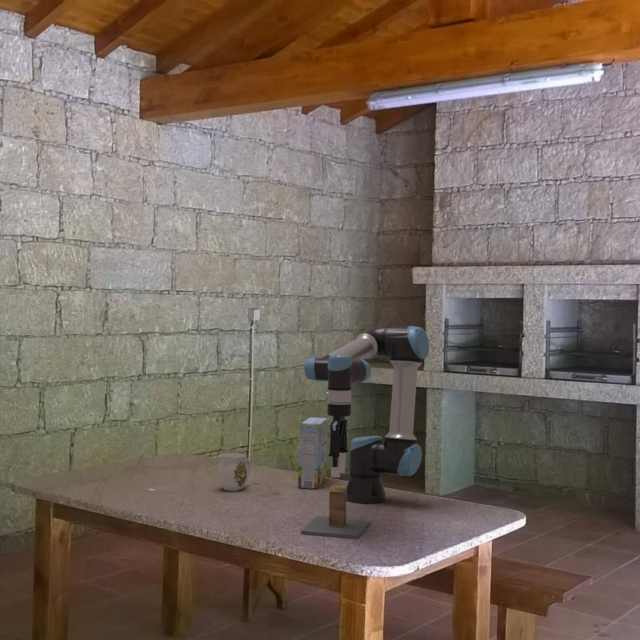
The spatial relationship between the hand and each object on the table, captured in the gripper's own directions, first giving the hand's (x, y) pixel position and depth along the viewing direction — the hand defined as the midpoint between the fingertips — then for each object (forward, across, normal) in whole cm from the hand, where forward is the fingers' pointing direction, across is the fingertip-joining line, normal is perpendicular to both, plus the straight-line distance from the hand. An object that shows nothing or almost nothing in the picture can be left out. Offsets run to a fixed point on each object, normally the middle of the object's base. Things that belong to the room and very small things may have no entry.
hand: (338, 474), depth 276 cm
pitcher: (+17, -47, -52) cm, 72 cm away
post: (+16, 0, 0) cm, 16 cm away
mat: (+17, 0, 0) cm, 17 cm away
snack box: (+17, -66, -26) cm, 73 cm away
